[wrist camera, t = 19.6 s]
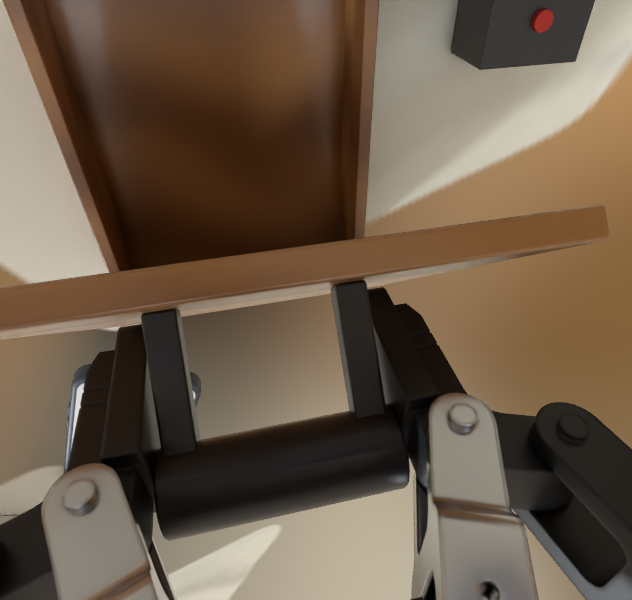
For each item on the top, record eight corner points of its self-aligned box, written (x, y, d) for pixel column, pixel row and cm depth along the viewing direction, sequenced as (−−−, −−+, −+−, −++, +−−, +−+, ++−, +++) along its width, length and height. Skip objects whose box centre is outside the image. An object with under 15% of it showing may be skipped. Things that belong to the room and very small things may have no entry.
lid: (-205, 315, 7) (-151, 666, 7) (606, 203, 9) (649, 474, 9) (122, 312, 26) (137, 408, 26) (362, 276, 28) (376, 364, 28)
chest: (-13, -127, 17) (-49, -131, 14) (358, -133, 19) (387, -137, 16) (129, 275, 29) (124, 314, 26) (346, 244, 31) (361, 278, 28)
